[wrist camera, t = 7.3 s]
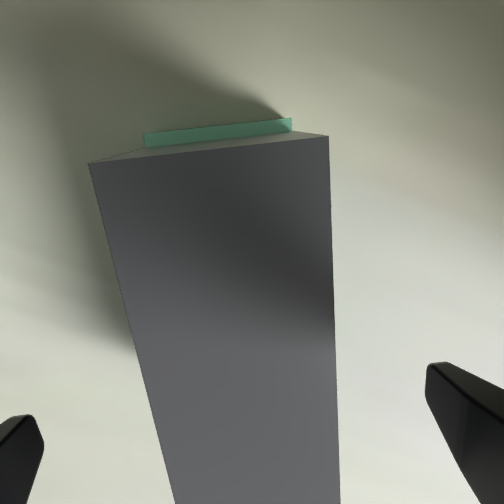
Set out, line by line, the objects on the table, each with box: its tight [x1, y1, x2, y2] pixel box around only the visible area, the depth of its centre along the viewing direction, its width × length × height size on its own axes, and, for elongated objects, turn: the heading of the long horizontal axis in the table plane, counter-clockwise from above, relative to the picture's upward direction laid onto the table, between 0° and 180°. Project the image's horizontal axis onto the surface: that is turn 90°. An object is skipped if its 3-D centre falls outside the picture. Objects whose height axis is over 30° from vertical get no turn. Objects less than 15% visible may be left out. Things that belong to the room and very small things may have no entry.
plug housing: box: [88, 131, 341, 504], centre depth 12 cm, size 5×11×5 cm, turn 6°
